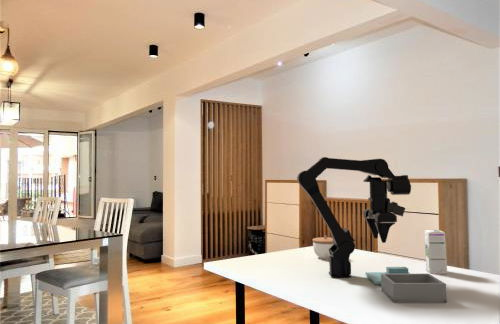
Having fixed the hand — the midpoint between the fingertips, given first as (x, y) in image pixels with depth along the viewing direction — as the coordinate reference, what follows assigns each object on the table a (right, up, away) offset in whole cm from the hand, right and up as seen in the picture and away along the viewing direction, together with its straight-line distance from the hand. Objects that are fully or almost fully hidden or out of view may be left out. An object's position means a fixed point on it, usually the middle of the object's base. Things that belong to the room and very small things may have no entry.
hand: (379, 240), depth 131 cm
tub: (+1, -11, -24) cm, 26 cm away
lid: (+2, -12, -7) cm, 14 cm away
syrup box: (+21, -12, +4) cm, 25 cm away
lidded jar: (-13, -14, +30) cm, 35 cm away
